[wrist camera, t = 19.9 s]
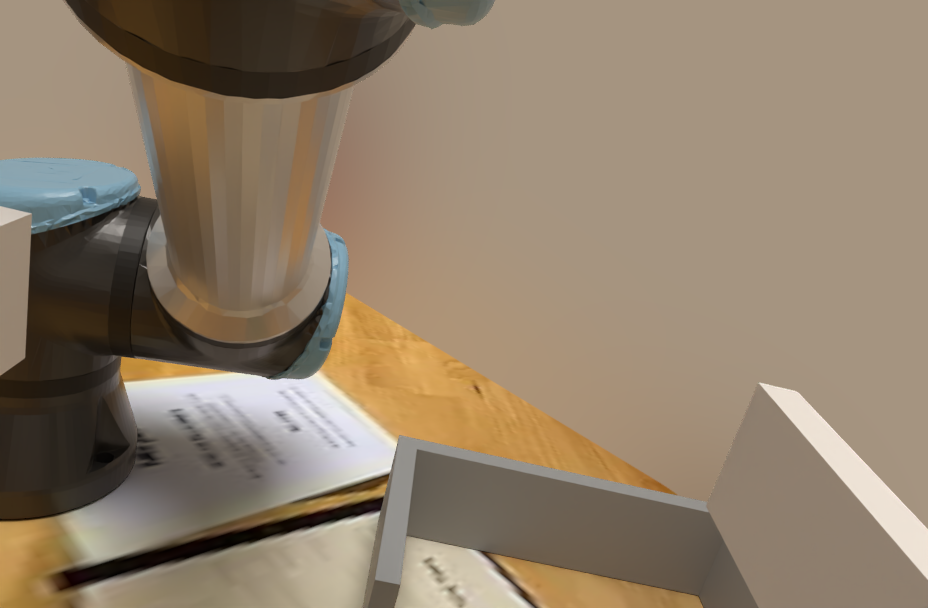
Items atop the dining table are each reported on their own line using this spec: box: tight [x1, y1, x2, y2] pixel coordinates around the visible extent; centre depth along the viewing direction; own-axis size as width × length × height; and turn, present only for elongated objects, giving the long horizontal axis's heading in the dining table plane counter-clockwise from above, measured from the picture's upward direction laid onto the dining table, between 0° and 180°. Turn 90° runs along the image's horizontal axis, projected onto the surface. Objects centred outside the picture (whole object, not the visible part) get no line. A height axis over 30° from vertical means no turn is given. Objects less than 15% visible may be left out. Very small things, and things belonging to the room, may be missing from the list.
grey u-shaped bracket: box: [363, 435, 759, 608], centre depth 52 cm, size 16×29×8 cm, turn 90°
